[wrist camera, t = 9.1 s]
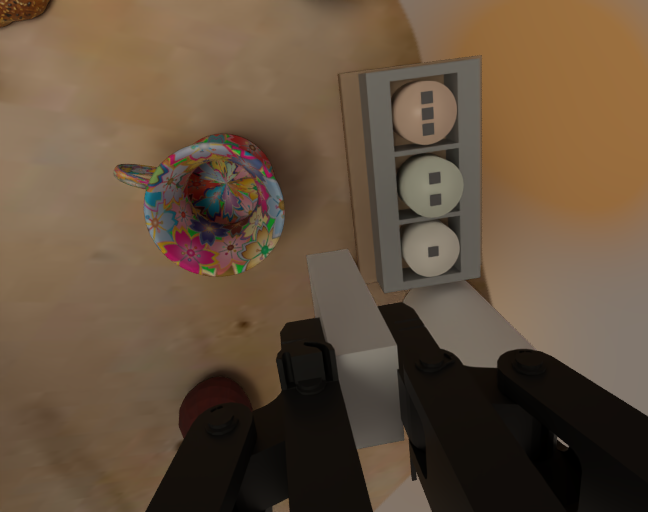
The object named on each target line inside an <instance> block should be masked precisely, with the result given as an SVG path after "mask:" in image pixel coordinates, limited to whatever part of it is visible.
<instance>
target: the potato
mask: <svg viewBox="0 0 648 512" xmlns="http://www.w3.org/2000/svg"><path fill="white" fill-rule="evenodd" d="M229 402H234V403H241V404H243V405H245V406H247V407H249V409H250V410H251V412H252V411H253V410H252V406H251V403H250V401H249V399H248V397H247V395H246V394H245V392H244V391H243V389H242V388H241V387H240V386H239V385H238V384H237V383H236V382H234V381H233V380H231V379H229V378H225V377H212V378H210V379H208V380H205V381H203V382H201V383H199V384H198V385H197V386H196V387H195V388H193V389H192V390H191V391H190V392H189V393H188V394H187V395H186V397H185V399H184V401H183V403H182V405H181V407H180V410H179V428H180V430H181V433H182V435H183V438H185V436H186V434H187V432H188V431H189V429H190V427H191V425H192V423H193V422H194V421H195V419H196V418H197V417H198V416H199V415H200V414H201V413H203V412H204V411H205V410H207V409H208V408H211V407H213V406H216V405H218V404H222V403H229Z"/></svg>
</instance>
